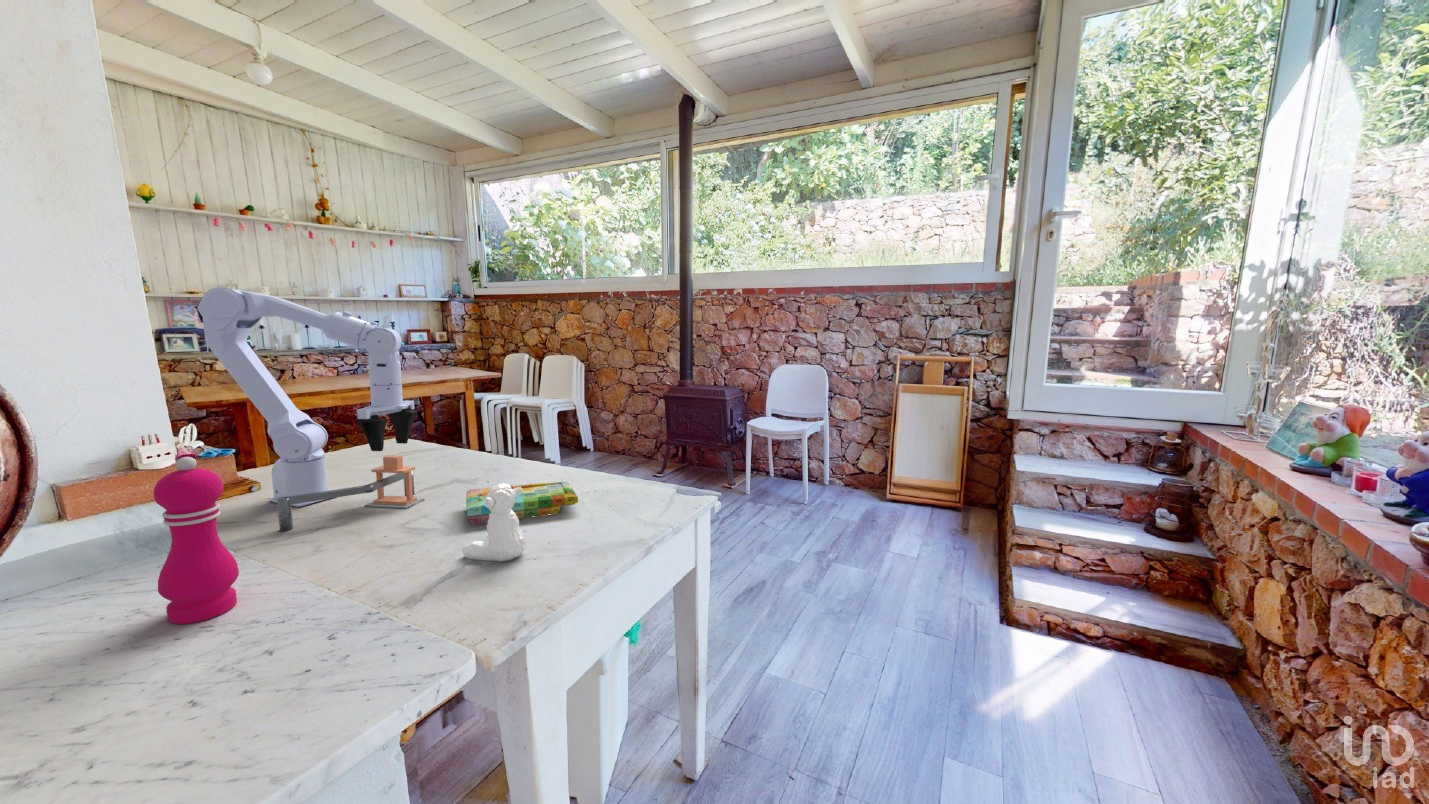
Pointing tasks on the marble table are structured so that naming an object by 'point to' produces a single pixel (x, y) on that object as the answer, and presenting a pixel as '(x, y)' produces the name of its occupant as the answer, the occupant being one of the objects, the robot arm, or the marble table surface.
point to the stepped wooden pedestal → (394, 466)
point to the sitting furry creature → (499, 528)
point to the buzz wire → (286, 502)
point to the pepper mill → (194, 546)
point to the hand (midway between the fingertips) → (390, 446)
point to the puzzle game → (524, 500)
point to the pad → (392, 504)
